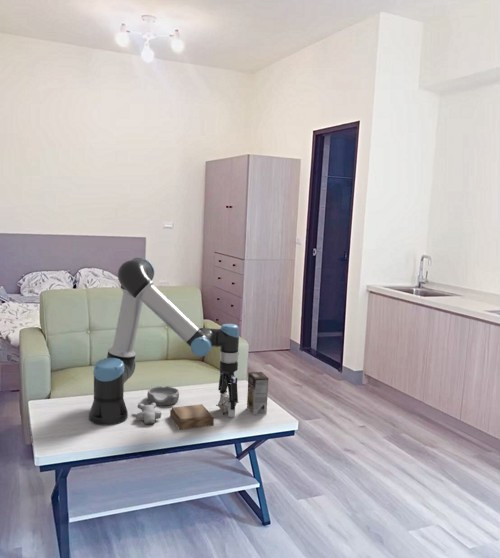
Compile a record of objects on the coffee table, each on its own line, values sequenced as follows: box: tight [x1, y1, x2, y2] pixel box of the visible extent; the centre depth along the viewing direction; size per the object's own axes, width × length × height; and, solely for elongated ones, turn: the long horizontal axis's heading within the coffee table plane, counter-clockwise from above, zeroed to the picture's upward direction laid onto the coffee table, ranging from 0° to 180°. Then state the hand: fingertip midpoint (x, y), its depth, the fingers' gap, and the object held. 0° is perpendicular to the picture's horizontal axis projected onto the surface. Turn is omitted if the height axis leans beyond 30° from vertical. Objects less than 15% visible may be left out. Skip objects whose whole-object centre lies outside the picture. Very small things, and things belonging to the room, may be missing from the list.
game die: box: [215, 394, 239, 415], centre depth 229 cm, size 9×8×10 cm
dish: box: [146, 385, 180, 406], centre depth 240 cm, size 14×14×5 cm
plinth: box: [169, 403, 215, 430], centre depth 219 cm, size 14×14×4 cm
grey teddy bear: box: [136, 403, 162, 425], centre depth 220 cm, size 10×5×15 cm
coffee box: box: [246, 371, 269, 416], centre depth 232 cm, size 9×6×16 cm
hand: (227, 412), depth 230 cm, fingers closed on game die, 9 cm apart
